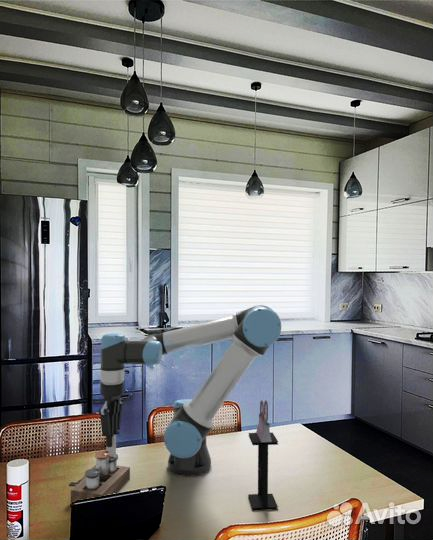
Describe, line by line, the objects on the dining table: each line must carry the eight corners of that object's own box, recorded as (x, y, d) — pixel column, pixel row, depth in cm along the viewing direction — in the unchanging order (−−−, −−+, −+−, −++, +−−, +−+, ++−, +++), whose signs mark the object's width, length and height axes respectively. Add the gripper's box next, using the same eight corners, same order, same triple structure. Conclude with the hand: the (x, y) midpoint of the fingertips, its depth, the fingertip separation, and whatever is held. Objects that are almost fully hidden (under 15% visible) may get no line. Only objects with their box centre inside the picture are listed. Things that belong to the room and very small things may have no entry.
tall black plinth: (247, 494, 126) (248, 395, 127) (271, 493, 126) (271, 395, 127) (253, 513, 115) (254, 406, 116) (279, 512, 116) (279, 405, 117)
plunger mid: (112, 476, 129) (112, 451, 129) (104, 483, 124) (105, 457, 125) (99, 474, 130) (99, 449, 130) (91, 481, 125) (92, 455, 126)
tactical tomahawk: (86, 491, 129) (87, 488, 129) (68, 487, 130) (68, 483, 130) (119, 462, 149) (119, 459, 149) (102, 458, 151) (103, 455, 150)
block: (129, 479, 134) (129, 467, 135) (101, 509, 117) (101, 494, 117) (102, 475, 137) (102, 463, 137) (70, 504, 119) (70, 490, 120)
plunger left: (102, 495, 123) (103, 469, 123) (95, 503, 119) (95, 475, 119) (89, 493, 124) (90, 467, 125) (81, 501, 120) (82, 474, 120)
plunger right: (120, 478, 134) (120, 454, 134) (113, 485, 130) (113, 459, 130) (107, 476, 135) (108, 452, 135) (101, 483, 131) (101, 458, 131)
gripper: (111, 376, 140) (110, 446, 140) (91, 386, 128) (89, 462, 127) (131, 378, 139) (130, 448, 138) (113, 387, 126) (111, 465, 125)
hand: (111, 455), depth 133 cm, fingers closed
